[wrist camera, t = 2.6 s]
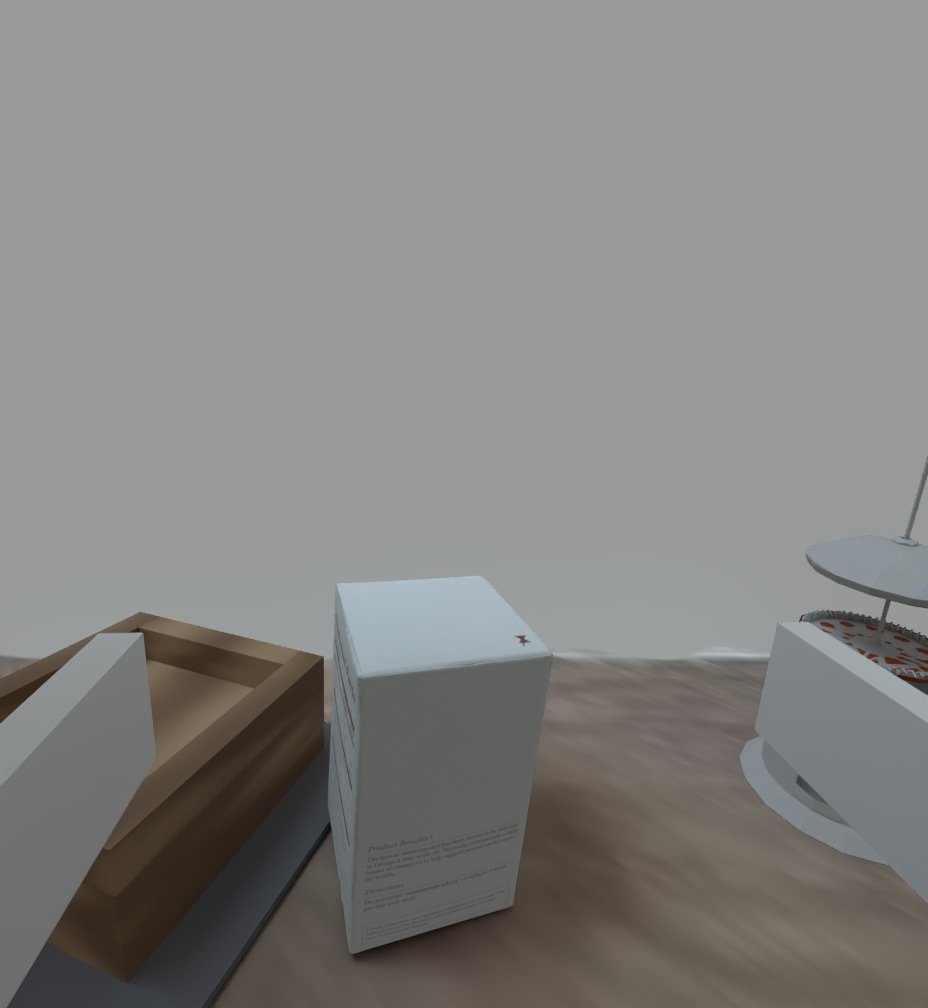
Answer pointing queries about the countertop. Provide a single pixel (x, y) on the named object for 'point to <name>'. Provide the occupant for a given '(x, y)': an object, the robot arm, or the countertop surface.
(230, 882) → the mat
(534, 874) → the countertop surface
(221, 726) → the tray
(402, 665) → the supplement box
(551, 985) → the countertop surface
